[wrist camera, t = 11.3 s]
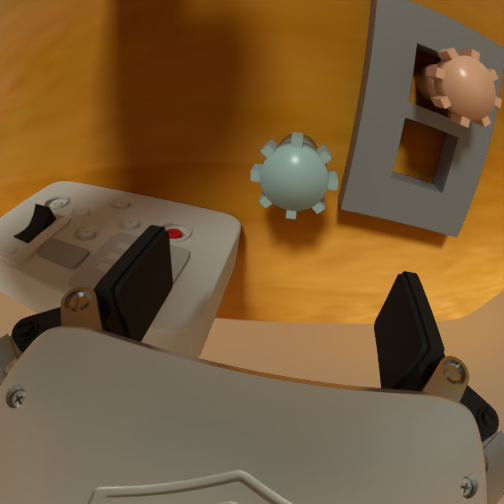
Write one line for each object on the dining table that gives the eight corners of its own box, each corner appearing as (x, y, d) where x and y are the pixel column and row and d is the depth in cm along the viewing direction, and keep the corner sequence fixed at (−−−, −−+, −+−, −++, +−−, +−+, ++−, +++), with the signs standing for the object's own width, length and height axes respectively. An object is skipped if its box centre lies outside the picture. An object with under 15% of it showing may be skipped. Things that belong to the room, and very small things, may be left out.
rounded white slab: (249, 198, 32) (192, 318, 17) (239, 254, 36) (191, 379, 21) (57, 164, 33) (-38, 225, 18) (63, 210, 38) (-18, 279, 23)
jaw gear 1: (266, 118, 26) (251, 134, 20) (333, 125, 25) (343, 143, 19) (264, 179, 30) (250, 214, 24) (326, 186, 29) (331, 223, 23)
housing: (371, -2, 17) (377, -10, 15) (489, 49, 16) (504, 48, 13) (338, 197, 29) (340, 209, 27) (447, 224, 28) (456, 237, 26)
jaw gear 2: (407, 43, 19) (440, 33, 12) (462, 66, 18) (505, 68, 12) (398, 102, 23) (429, 111, 16) (453, 122, 22) (493, 140, 15)
